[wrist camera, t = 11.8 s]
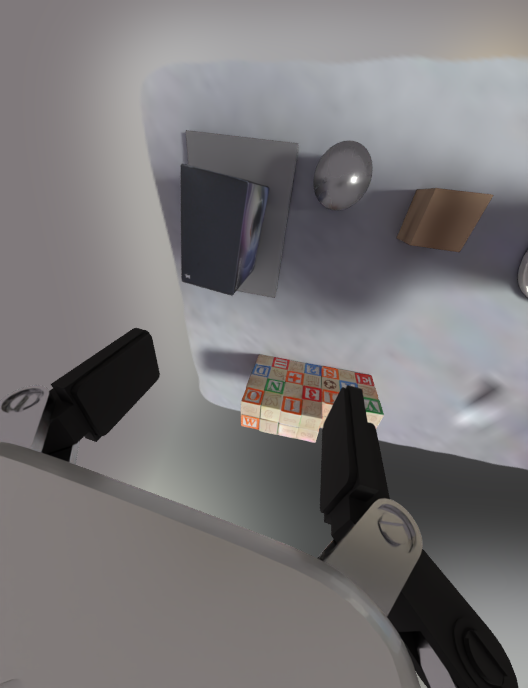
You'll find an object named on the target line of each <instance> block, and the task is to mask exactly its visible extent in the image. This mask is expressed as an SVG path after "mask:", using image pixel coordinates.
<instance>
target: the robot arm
mask: <svg viewBox="0 0 528 688" xmlns="http://www.w3.org/2000/svg"><path fill="white" fill-rule="evenodd" d="M518 282H519V286H520V289H521V291H522V292H523V293H524V294H525V295H526V296H527V297H528V250H527V252H526V254H525V255H524V257H523V259H522V262H521V264H520V267H519V273H518ZM159 375H160V373H159V368H158V364H157V359H156V354H155V349H154V345H153V340H152V336H151V335H150V334H149V332H148V331H146V330H142V329H139V328H134V329H132V330H130V331H129V332H128V333H126V334H125V335H123V336H122V337H120V338H119V339H117V340H116V341H114V342H113V343H111V344H110V345H108V346H107V347H105V348H104V349H102V350H101V351H99V352H98V353H96V354H95V355H93V356H92V357H91V358H89V359H87V360H86V361H84V362H83V363H82V364H80V365H79V366H77V367H76V368H74V369H73V370H71V371H70V372H68V373H67V374H65V375H64V376H62V377H61V378H59V379H58V380H57V381H55V382H53V383H52V384H51V385H52V387H53V389H52V390H50V391H49V390H48V388H47V387H44V386H40V385H34V386H28V387H24V388H21V389H18V390H15V391H13V392H11V393H10V394H8V395H6V396H5V397H3V398H2V399H1V400H0V688H421V687H420V684H419V681H418V678H417V675H416V672H417V674H418V676H419V677H420V678H421V680H422V681H423V682H424V684H425V685H426V686H427V688H518V683H517V678H516V675H515V673H514V670H513V668H512V665H511V663H510V660H509V658H508V657H507V655H506V653H505V651H504V649H503V648H502V646H501V644H500V643H499V641H498V640H497V638H496V637H495V636H494V634H493V633H492V632H491V630H490V629H489V628H488V627H487V625H486V624H485V623H484V622H483V621H482V620H481V618H480V617H479V616H478V615H477V614H476V612H475V611H474V610H473V609H472V607H471V606H470V605H469V604H468V603H467V602H466V600H465V599H464V598H463V597H462V595H461V594H460V593H459V592H458V591H457V589H456V588H455V587H454V586H453V585H452V583H451V582H450V581H449V580H448V579H447V578H446V576H445V575H444V574H443V573H442V572H441V570H440V569H439V568H438V567H437V565H436V564H435V563H434V562H433V561H432V559H431V558H430V557H429V556H428V555H427V553H426V552H425V551H424V550H423V549H422V548H423V545H422V537H421V534H420V531H419V528H418V526H417V524H416V522H415V521H414V519H413V518H412V516H411V515H410V514H409V513H408V511H407V510H405V509H404V508H403V507H402V506H401V505H400V504H398V503H396V502H395V501H393V500H390V498H389V493H388V488H387V483H386V477H385V473H384V467H383V463H382V457H381V452H380V447H379V442H378V437H377V432H376V428H375V426H374V424H372V423H369V422H368V421H367V415H366V409H365V403H364V397H363V391H362V389H361V388H357V387H353V386H350V385H348V386H347V387H346V388H344V387H342V388H341V390H340V392H339V394H338V396H337V398H336V400H335V402H334V404H333V406H332V408H331V410H330V412H329V414H328V416H327V418H326V420H325V422H324V424H323V430H322V461H321V492H320V494H321V495H320V511H321V512H322V513H324V522H325V523H328V524H331V531H332V532H331V535H332V537H333V540H332V541H331V543H330V544H329V545H328V546H327V547H326V548H325V550H324V551H323V552H322V553H321V554H320V555H319V557H318V558H315V557H313V556H311V555H309V554H307V553H305V552H303V551H300V550H298V549H296V548H294V547H291V546H289V545H287V544H284V543H282V542H279V541H276V540H274V539H272V538H269V537H266V536H264V535H261V534H259V533H257V532H254V531H252V530H249V529H246V528H244V527H241V526H238V525H235V524H233V523H230V522H228V521H225V520H222V519H220V518H217V517H215V516H212V515H209V514H207V513H204V512H201V511H198V510H196V509H193V508H191V507H188V506H185V505H183V504H180V503H177V502H175V501H172V500H169V499H167V498H164V497H161V496H159V495H156V494H153V493H151V492H148V491H145V490H143V489H140V488H137V487H134V486H132V485H129V484H126V483H124V482H121V481H118V480H116V479H113V478H110V477H107V476H104V475H102V474H99V473H97V472H94V471H91V470H88V469H86V468H83V467H80V466H77V465H76V460H77V454H78V448H79V442H80V440H81V439H82V438H83V437H84V436H85V438H87V439H89V440H92V441H95V442H97V441H98V440H99V439H100V438H101V436H104V435H106V434H107V433H108V432H109V431H110V430H111V429H112V428H113V427H114V426H115V425H116V424H117V423H118V422H119V421H120V420H121V419H122V417H123V416H124V415H125V414H126V413H127V412H128V411H129V410H130V409H131V408H132V407H133V405H134V404H136V403H137V401H138V400H139V399H140V398H141V397H142V396H143V395H144V394H145V393H146V392H147V391H148V390H149V389H150V387H152V385H153V384H154V383H155V382H156V381H157V380H158V378H159ZM415 671H416V672H415Z"/></svg>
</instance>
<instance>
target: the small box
mask: <svg viewBox="0 0 528 688" xmlns="http://www.w3.org/2000/svg"><path fill="white" fill-rule="evenodd" d="M268 194H269V187H268V186H264V185H261V184H258V183H255V182H252V181H248V180H245V179H241V178H237V177H233V176H229V175H225V174H221V173H217V172H213V171H210V170H206V169H202V168H198V167H194V166H190V165H187V164H181V269H182V281H183V282H185V283H189V284H193V285H196V286H199V287H203V288H207V289H210V290H214V291H217V292H221V293H224V294H228V295H231V296H232V295H234V293H235V292H236V291H237V289H238V288H239V287H240V286H241V285H242V283H243V282H244V281H245V280H246V279H247V277H248V276H249V275H250V274H251V273H252V271H253V270H254V267H255V262H256V256H257V251H258V246H259V241H260V236H261V231H262V225H263V220H264V215H265V210H266V204H267V199H268Z"/></svg>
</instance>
